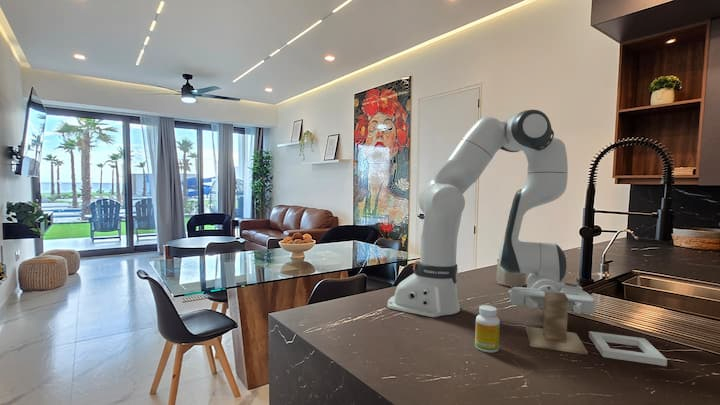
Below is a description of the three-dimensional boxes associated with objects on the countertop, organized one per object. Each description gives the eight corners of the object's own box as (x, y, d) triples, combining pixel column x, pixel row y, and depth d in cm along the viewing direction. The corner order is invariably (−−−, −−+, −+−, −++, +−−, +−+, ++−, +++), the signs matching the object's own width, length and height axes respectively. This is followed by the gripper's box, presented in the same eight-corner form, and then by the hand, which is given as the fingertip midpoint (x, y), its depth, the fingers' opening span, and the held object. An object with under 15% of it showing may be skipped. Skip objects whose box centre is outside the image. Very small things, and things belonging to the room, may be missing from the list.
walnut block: (545, 340, 91) (547, 296, 90) (543, 333, 95) (544, 291, 95) (566, 343, 89) (568, 298, 89) (562, 336, 94) (564, 293, 93)
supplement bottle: (500, 354, 84) (502, 312, 84) (476, 351, 85) (477, 310, 85) (496, 344, 89) (498, 305, 89) (473, 342, 90) (475, 303, 90)
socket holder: (602, 356, 84) (603, 350, 84) (588, 336, 95) (589, 331, 95) (666, 366, 80) (667, 359, 80) (644, 344, 91) (644, 338, 91)
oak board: (530, 346, 89) (530, 343, 89) (525, 328, 100) (525, 326, 100) (587, 354, 85) (587, 352, 85) (575, 335, 96) (575, 332, 96)
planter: (499, 287, 142) (500, 262, 142) (493, 280, 153) (494, 257, 152) (529, 288, 140) (530, 264, 140) (521, 281, 151) (522, 258, 151)
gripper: (508, 279, 109) (511, 291, 96) (587, 286, 102) (602, 301, 89) (507, 300, 109) (510, 315, 96) (586, 309, 102) (600, 326, 89)
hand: (555, 308), depth 92 cm, fingers open, 8 cm apart
